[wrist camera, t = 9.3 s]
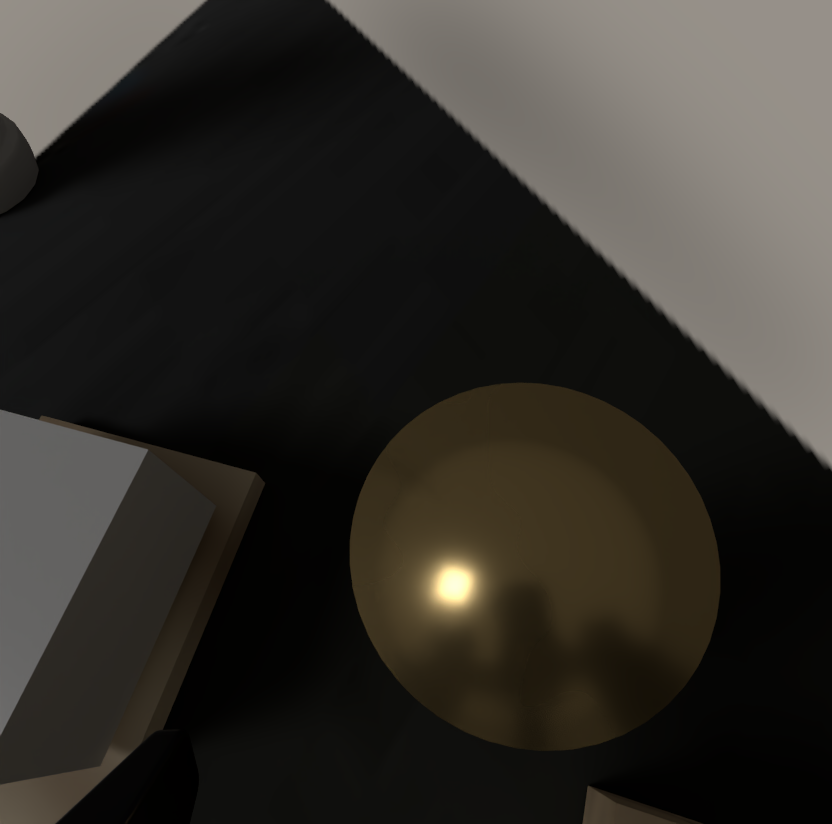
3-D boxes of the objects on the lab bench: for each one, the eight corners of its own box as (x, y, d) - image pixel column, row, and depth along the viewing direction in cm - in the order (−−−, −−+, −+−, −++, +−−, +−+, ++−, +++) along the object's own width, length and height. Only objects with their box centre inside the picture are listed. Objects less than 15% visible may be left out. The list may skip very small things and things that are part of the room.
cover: (100, 766, 15) (-28, 789, 11) (-124, 681, 16) (-312, 675, 12) (216, 505, 18) (148, 449, 14) (18, 450, 19) (-96, 383, 15)
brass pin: (528, 735, 16) (706, 813, 5) (401, 694, 17) (297, 677, 5) (553, 602, 17) (732, 423, 6) (435, 569, 18) (407, 353, 7)
